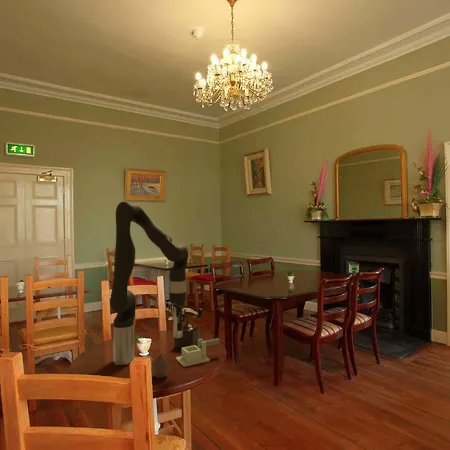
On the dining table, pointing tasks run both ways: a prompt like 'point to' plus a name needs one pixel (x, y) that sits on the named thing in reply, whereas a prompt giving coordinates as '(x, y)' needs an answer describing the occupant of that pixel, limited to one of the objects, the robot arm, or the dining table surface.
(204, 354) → the dock
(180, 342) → the dark piece
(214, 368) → the dining table surface
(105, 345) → the dining table surface
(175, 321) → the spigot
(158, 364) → the vase
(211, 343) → the pin
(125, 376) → the dining table surface
